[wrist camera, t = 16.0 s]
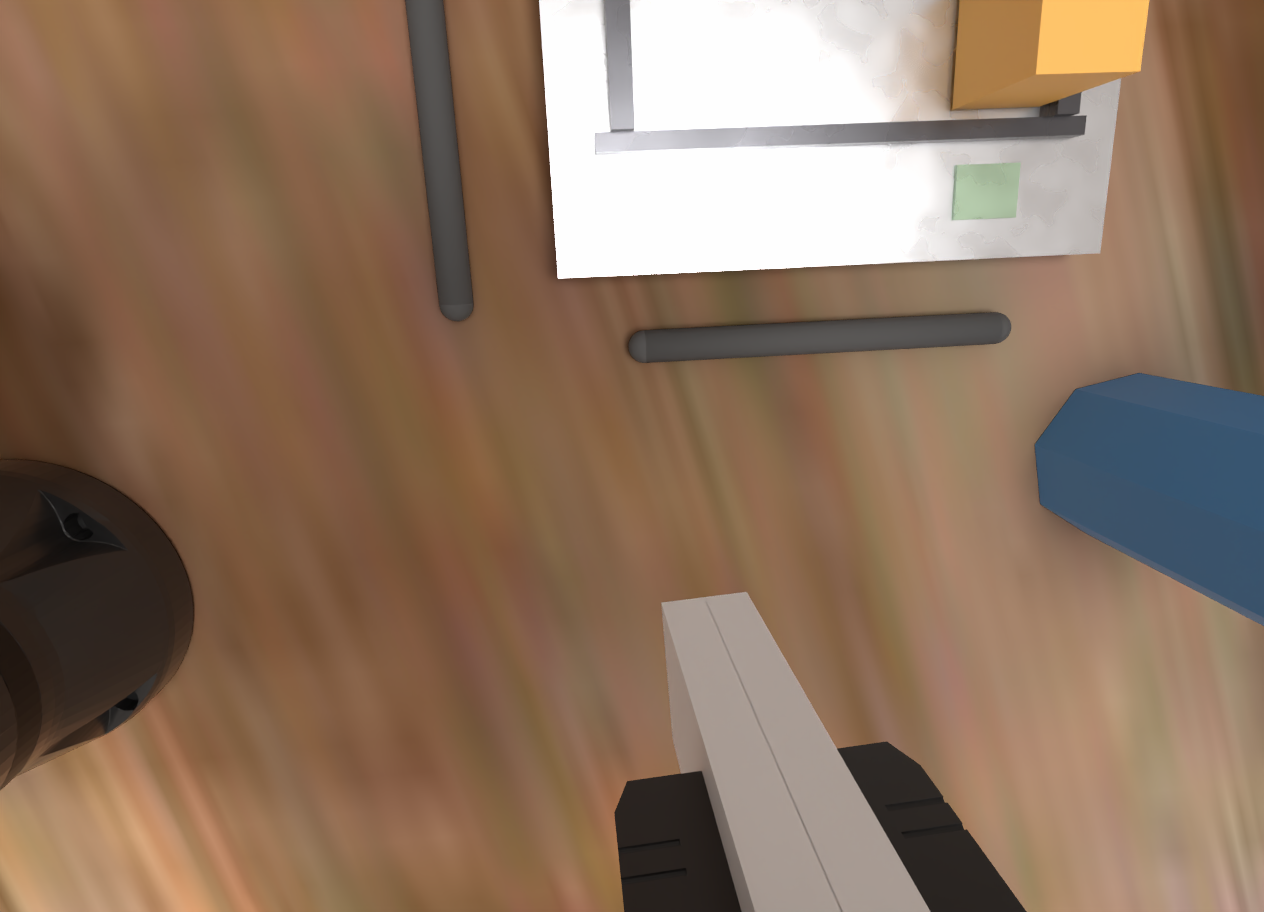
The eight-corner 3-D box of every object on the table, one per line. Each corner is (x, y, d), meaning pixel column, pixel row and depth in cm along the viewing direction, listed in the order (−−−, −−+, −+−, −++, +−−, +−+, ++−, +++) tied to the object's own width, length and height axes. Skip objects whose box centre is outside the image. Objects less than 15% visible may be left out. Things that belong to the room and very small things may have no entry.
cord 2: (628, 361, 36) (630, 365, 35) (626, 329, 36) (628, 332, 34) (998, 341, 38) (1016, 344, 36) (1000, 310, 37) (1019, 312, 36)
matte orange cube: (952, 109, 32) (1035, 74, 26) (960, -18, 30) (1050, -85, 25) (1038, 107, 32) (1140, 71, 26) (1050, -20, 31) (1160, -87, 25)
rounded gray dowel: (477, 319, 35) (472, 321, 34) (444, 320, 35) (438, 323, 34) (425, -206, 30) (416, -232, 28) (386, -206, 30) (375, -232, 28)
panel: (559, 277, 35) (557, 278, 31) (529, -156, 30) (523, -214, 27) (1065, 254, 37) (1120, 252, 33) (1110, -162, 32) (1179, -218, 28)
